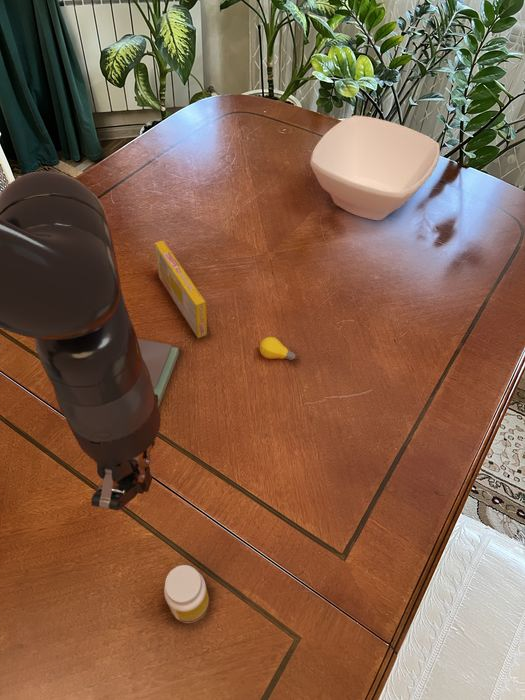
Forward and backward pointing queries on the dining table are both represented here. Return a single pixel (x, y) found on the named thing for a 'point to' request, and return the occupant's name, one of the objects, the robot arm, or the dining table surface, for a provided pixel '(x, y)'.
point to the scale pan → (154, 357)
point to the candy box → (181, 289)
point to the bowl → (373, 165)
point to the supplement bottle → (186, 594)
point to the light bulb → (275, 349)
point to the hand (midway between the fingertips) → (141, 484)
